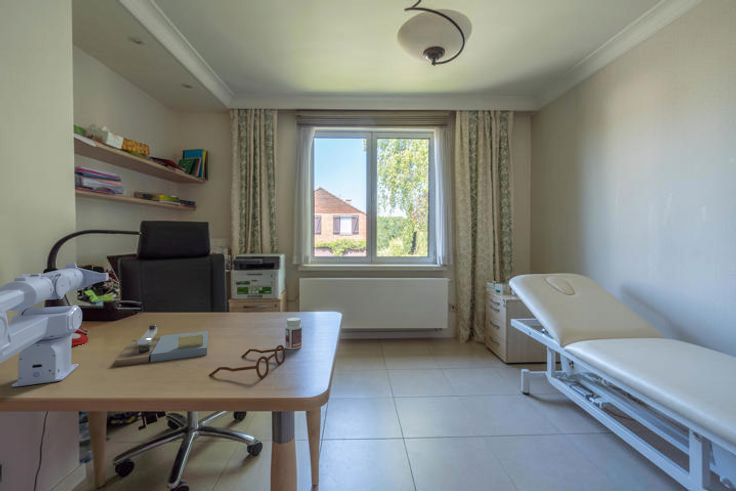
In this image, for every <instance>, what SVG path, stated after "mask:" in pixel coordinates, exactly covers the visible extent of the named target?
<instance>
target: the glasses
mask: <svg viewBox="0 0 736 491" xmlns="http://www.w3.org/2000/svg"><path fill="white" fill-rule="evenodd" d="M251 352H255V353H258V354H259V353H260V354H266V353H268V354H269V353H272V354H270V355H269V356H260V357H259V358H258V359H257V360H256V365H250V366H242V367H241V366H240V367H233V368H232V367H228V366H219V367H217V368H216V369H215V370H213V371H211V373H209V374H208V376H209V377H212V376H214V375H215V374H217V373H218V372H220V371H221V370H222V371H229V372H233V373H234V372H239V371H248V370H255V371H256V374H257V377H258V378H259V379H264V378H265V377H267V375H268V374H269V370H270V362H269V361H270V360H271V359H272V358H273V357H274V358H275V362H276V364H277V365H283V364H284V363H285V360H286V348H285V347H284V345H282V344H279V345H276V346H275V348H270V349H263V350H261V349H257V348H249V349H248V350H247V351H246V352H245V353H243V354H242V355H241V356H240V357H241V358H245V357H246V356H248V354H250V353H251ZM278 352H282V359H281V361H279V358H278ZM262 360H264V362H265V366H266V368H265V372H264V374H263V375H262V374H261V371H260V363H261V361H262Z"/></svg>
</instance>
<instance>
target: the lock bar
mask: <svg viewBox="0 0 736 491" xmlns="http://www.w3.org/2000/svg"><path fill="white" fill-rule="evenodd" d="M157 333H158V327H157V324H152V325H149V326H148V329H147V330H146V332H144V334H143V335H142V336H141V337H139V338H137V339H136V340H137V347H147V346H150V345H152V339H153V338H155V336H156V335H157Z"/></svg>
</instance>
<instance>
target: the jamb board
mask: <svg viewBox="0 0 736 491" xmlns="http://www.w3.org/2000/svg"><path fill="white" fill-rule="evenodd" d="M160 338H161V336H158V337H154V338H153V339H152V345H150V346H147V347H137V339H133V340H132V341H130V343H129V344H128V345H127V347H126V348H125V349H124V350H123V351H122V352H121V353H120V355H119V356H118V357H117V358H115V362H114V366H115V368H116V367H122V366H124V367H125V366H129V365H130V366H131V365H137V364H138V365H139V364H145V363H146V364H147V363H149V362H151V353H152V351H153V350H154V348H155V346H156V345H157V343H158V341H159V340H160Z"/></svg>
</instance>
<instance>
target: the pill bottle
mask: <svg viewBox="0 0 736 491" xmlns="http://www.w3.org/2000/svg"><path fill="white" fill-rule="evenodd" d="M301 321H302V320H301V318H299V317H290V318H287V319H286V326H285V330H284V331H285V334H284V335H285V336H284V337H285V341H284V343H285V344H284V345H285V347H284V348H285V350H286V349H288V350H294V351H295V350H298V349H300V348H302V343H303V342H302V341H303V340H302V339H303V338H302V334H303V333H302V332H303V331H302V329H303V327H302V325H301Z"/></svg>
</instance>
